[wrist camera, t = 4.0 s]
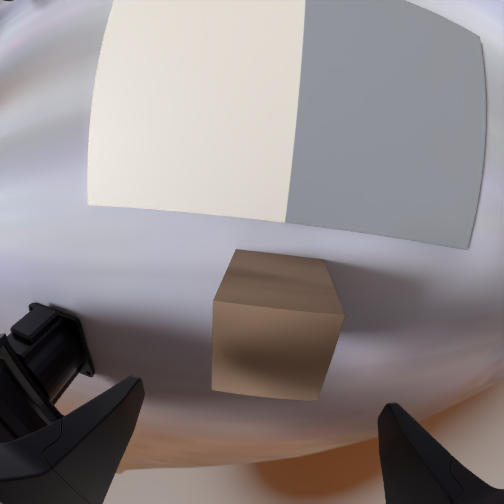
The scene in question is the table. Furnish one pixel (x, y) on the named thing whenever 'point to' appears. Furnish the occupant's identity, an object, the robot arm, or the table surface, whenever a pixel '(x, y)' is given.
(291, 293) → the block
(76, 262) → the table surface
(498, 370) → the table surface
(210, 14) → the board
